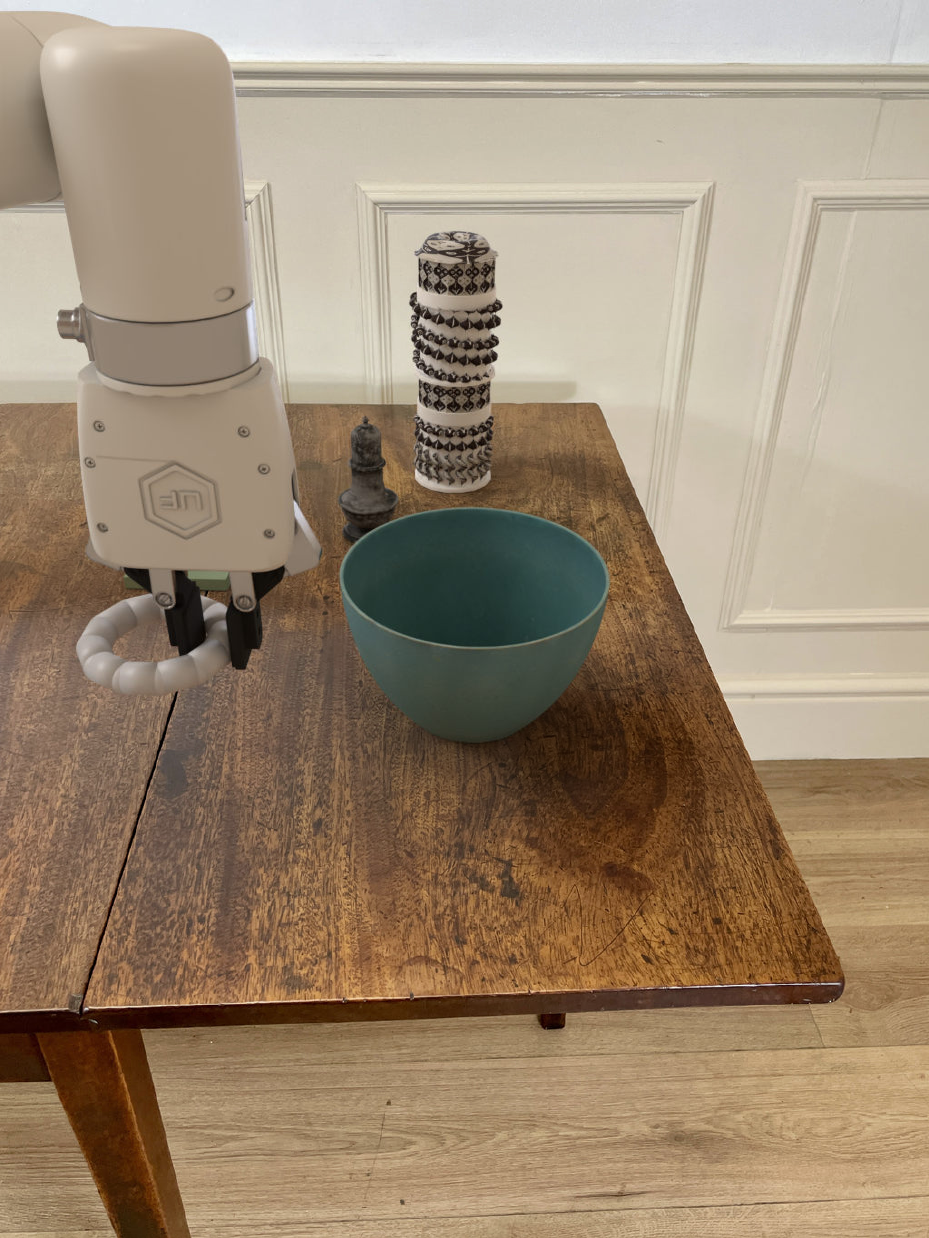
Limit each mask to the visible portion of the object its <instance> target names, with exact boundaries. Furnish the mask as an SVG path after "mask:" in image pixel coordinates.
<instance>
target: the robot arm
mask: <svg viewBox="0 0 929 1238" xmlns="http://www.w3.org/2000/svg"><path fill="white" fill-rule="evenodd" d="M239 124H240V123H239V114H238V102H237V93H236V85H235V78H234V72H233V68H232V65H231V63H230V61H229V58H228V56H227V54H226V52H225V50H224V49H223V48H222V46H221V45H220V44H218V43H217V42H216V40H214V39H213V38H211V37H208V36H206V35H205V34H203V33H199V32H195V31H191V30H186V29H179V28H171V27H170V28H169V27H154V26H125V25H123V26H121V25H119V26H117V25H110V24H107V23H104V22H101V21H99V20H96V19H93V18H90V17H86V16H83V15H79V14H75V13H68V12H63V11H53V10H52V11H51V10H50V11H49V10H0V211H3V210H9V209H14V208H18V207H19V208H20V207H25V206H30V205H35V204H45V203H52V202H58V201H63V205H64V210H65V215H66V220H67V221H66V222H67V225H68V232H69V237H70V241H71V247H72V253H73V258H74V264H75V268H76V274H77V279H78V282H79V290H80V295H81V299H82V302H81V303H80V304H79V305H78V306H76V307H74V309H59V311H58V312H57V315H56V328H57V332H58V334H59V336H60V338H61V339H62V340H76V341H77V342H78V343H80V344H84V346H85V348H86V351H87V357H88V360H89V363H88V364H87V365H86V366H84V367H83V368H81V369H80V370H79V372H78V373H77V385H76V387H77V388H76V389H77V390H76V392H77V393H76V403H77V404H76V417H77V421H76V422H77V436H78V438H77V439H78V454H79V464H80V466H79V467H80V474H81V475H80V476H81V485H82V493H83V501H84V509H85V514H86V520H87V527H88V532H89V537H88V540H87V543H86V546H85V550H84V553H85V556H86V557H87V559H89V560H90V561H92V562H94V563H97V564H100V565H102V566H105V567H108V568H110V569H113V570H115V571H118V572H120V571H122V572H124V575H125V574H126V575H127V576H128V577H130V578H131V579H132V580H134V581H135V582H136V583H137V584H139V585H140V586H141V587H143V588H144V589H143V590H145V591H147V592H148V594H150V593H151V594H152V595H153V601H154V603H155V604H156V605H157V606H158V607H160V608H162V609H164V612H165V618H166V621H165V624H166V628H167V634H168V640H169V645H170V646H171V647H177V650H178V657H180V656H183V655H187V654H188V653H190V652H191V651H193V650H194V649H195V648H197V647H198V646H200V645H201V644H203V643H204V642H205V639H206V637H207V633H206V631H205V622H204V615H203V608H202V601H201V595H202V594H201V590H200V588H199V586H196V581H191V580H190V579H189V578H188V571H215V572H229V578H230V590H231V594H230V597H229V604H228V606H227V611H226V625H227V633H228V641H229V648H230V656H231V662H230V664H231V668H234V670H236V671H246V669H247V666H248V663H249V660H250V658H251V655H252V651H253V650H260V649H261V646H262V643H263V637H264V630H263V629H264V628H263V620H262V611H261V600H262V599H263V598H264V597H265V596H266V595H267V594H268V593H270V592H271V591H272V590H273V589H274V588H276V586H278V585H279V584H280V583H281V582H282V581H283V579H286V578H289V577H290V578H292V577H295V576H298V575H300V574H303V573H306V572H309V571H312V570H315V569H316V568H318V566H319V565H320V563H321V559H322V555H323V547H322V545H321V543H320V542H319V539H318V538H317V536H316V535H315V533H314V531H313V528H311V526H310V524H309V522H308V521H307V519H306V517H305V515H304V514H303V511H302V510H301V497H300V487H299V479H298V471H297V464H296V458H295V453H294V447H293V442H292V435H291V430H290V426H289V422H288V421H289V419H288V415H287V411H286V406H285V403H284V397H283V395H282V391H281V387H280V383H279V380H278V376H277V374H276V371H275V368H274V364H273V363H272V361H271V360H269V359H268V358H267V357H264V356H260V350H259V349H260V348H259V339H258V338H259V337H258V328H257V327H258V325H257V314H256V303H255V295H254V287H253V286H254V284H253V274H252V261H251V249H250V239H249V238H250V237H249V226H248V217H247V208H246V207H247V206H246V195H245V186H244V185H245V184H244V172H243V161H242V159H243V158H242V149H241V147H242V146H241V137H240V126H239Z"/></svg>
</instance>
